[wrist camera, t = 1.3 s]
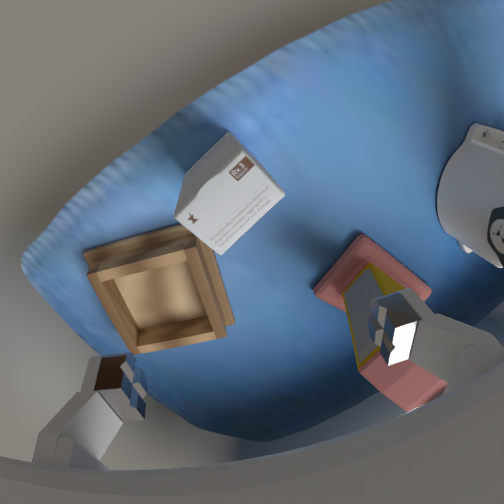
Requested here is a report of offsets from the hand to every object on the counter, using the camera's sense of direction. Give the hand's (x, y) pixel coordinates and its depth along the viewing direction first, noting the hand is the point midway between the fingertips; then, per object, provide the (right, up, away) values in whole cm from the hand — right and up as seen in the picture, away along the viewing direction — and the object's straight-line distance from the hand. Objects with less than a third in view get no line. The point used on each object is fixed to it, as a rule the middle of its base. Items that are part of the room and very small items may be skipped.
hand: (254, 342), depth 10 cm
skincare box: (-3, +11, +20) cm, 23 cm away
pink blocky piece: (+16, -2, +30) cm, 34 cm away
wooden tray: (-10, -1, +25) cm, 27 cm away
